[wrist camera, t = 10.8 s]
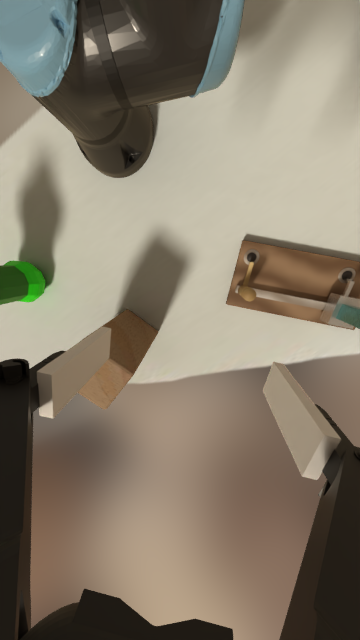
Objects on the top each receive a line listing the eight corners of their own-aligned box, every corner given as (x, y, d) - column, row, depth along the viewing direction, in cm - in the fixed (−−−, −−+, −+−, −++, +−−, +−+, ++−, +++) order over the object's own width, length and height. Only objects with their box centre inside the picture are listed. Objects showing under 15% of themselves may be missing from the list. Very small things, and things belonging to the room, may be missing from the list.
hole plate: (242, 240, 42) (252, 236, 34) (379, 266, 41) (424, 268, 33) (226, 302, 47) (231, 312, 38) (349, 327, 45) (382, 343, 37)
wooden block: (127, 308, 50) (81, 338, 31) (159, 331, 51) (133, 374, 32) (108, 336, 53) (56, 380, 34) (138, 357, 54) (104, 411, 35)
